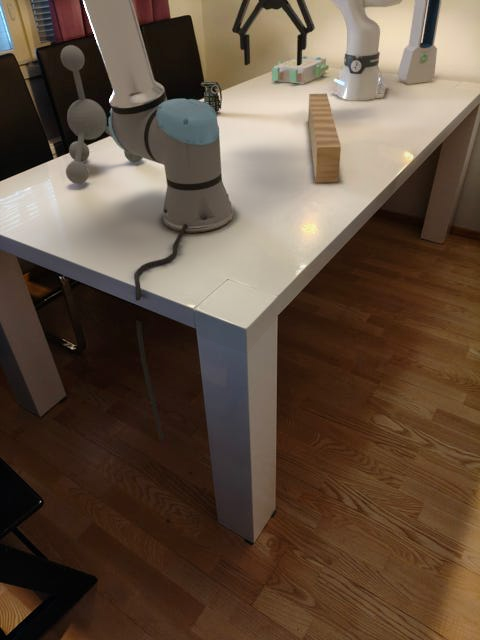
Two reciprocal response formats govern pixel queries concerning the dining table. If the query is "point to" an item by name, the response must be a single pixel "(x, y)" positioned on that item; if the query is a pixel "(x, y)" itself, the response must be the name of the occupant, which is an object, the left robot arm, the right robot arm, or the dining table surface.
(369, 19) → the right robot arm
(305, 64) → the white green flat box
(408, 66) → the electronic device
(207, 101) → the grenade
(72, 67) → the molecular model
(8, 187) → the dining table surface
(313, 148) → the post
